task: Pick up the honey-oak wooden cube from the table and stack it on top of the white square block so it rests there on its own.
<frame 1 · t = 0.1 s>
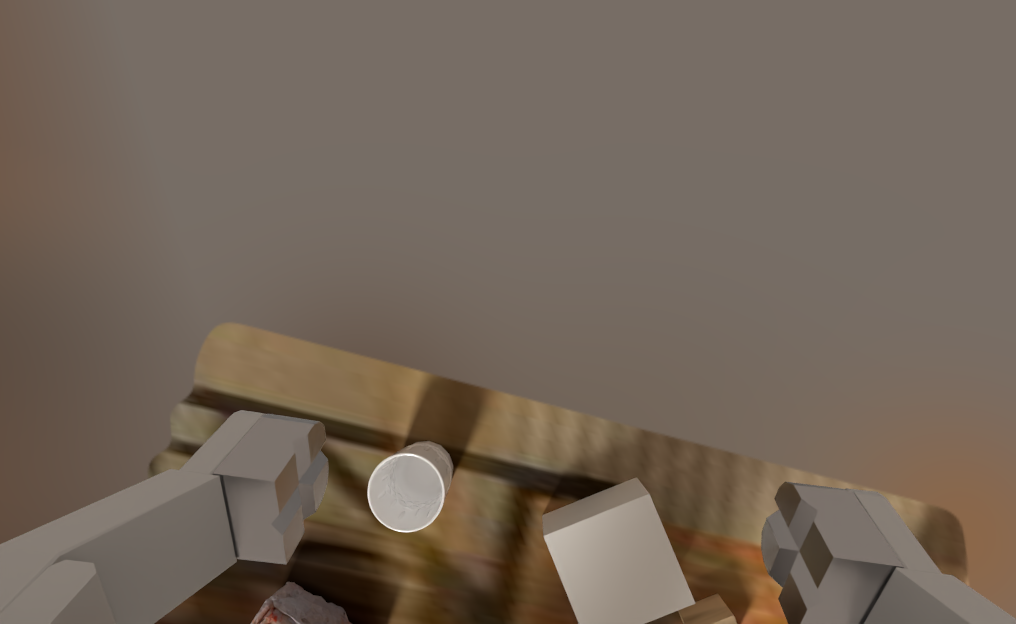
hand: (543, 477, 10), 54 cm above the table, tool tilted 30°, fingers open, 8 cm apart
white cup: (426, 468, 64), on the table
oak cube: (705, 621, 61), on the table
white square block: (609, 543, 62), on the table
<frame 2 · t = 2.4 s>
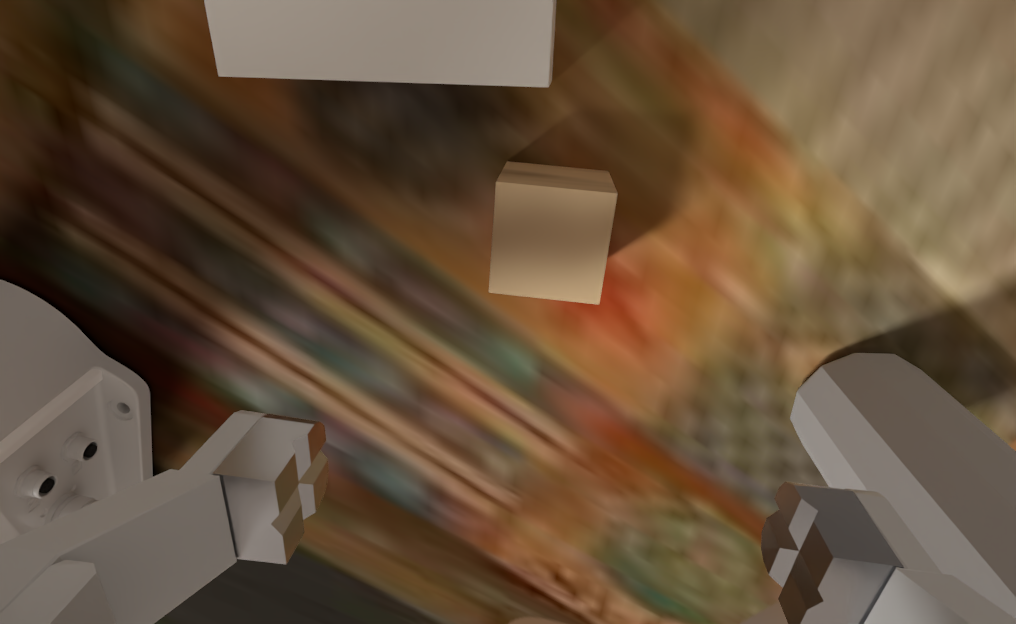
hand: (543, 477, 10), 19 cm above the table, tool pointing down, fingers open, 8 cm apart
water bottle: (865, 401, 30), on the table
oak cube: (551, 215, 27), on the table
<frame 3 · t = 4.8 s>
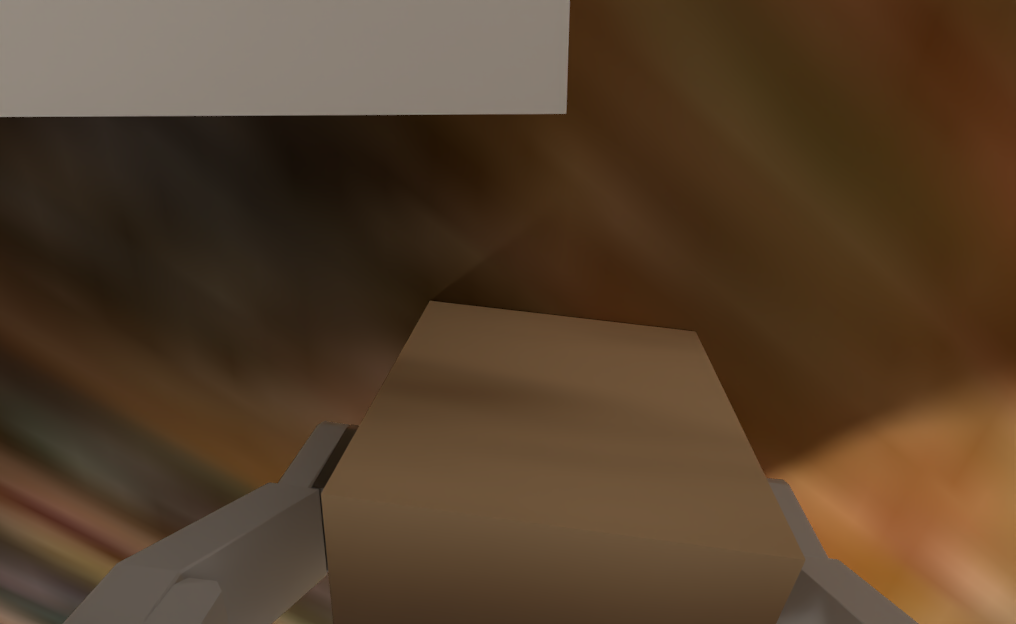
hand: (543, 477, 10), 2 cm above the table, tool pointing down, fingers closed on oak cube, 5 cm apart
oak cube: (546, 423, 11), on the table, touching gripper
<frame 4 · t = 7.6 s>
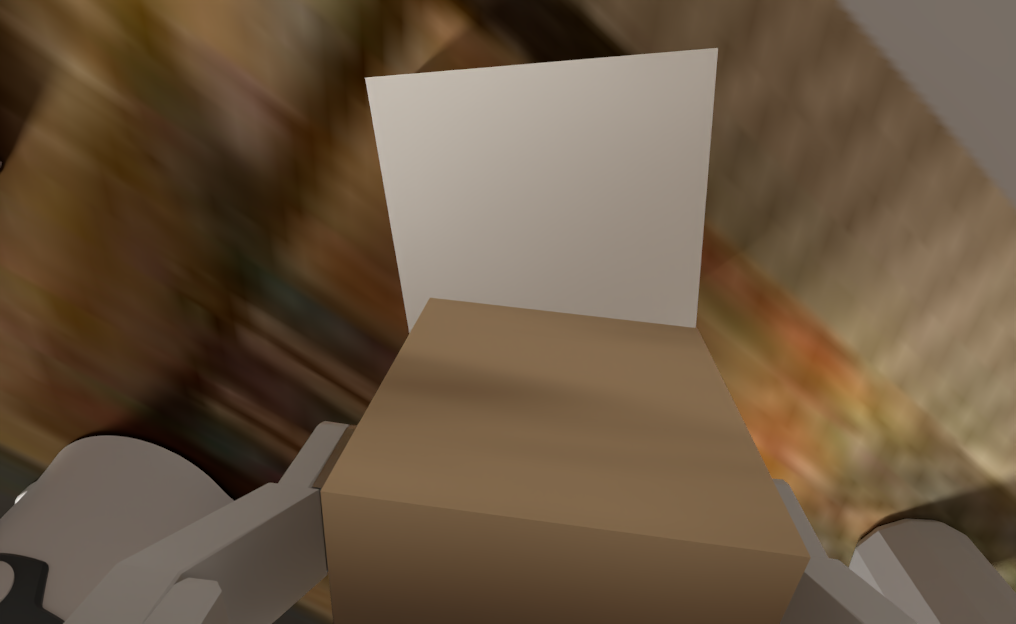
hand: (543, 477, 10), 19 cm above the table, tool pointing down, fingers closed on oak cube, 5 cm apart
water bottle: (915, 553, 34), on the table
oak cube: (546, 420, 11), point 18 cm above the table, touching gripper
white square block: (548, 193, 27), on the table
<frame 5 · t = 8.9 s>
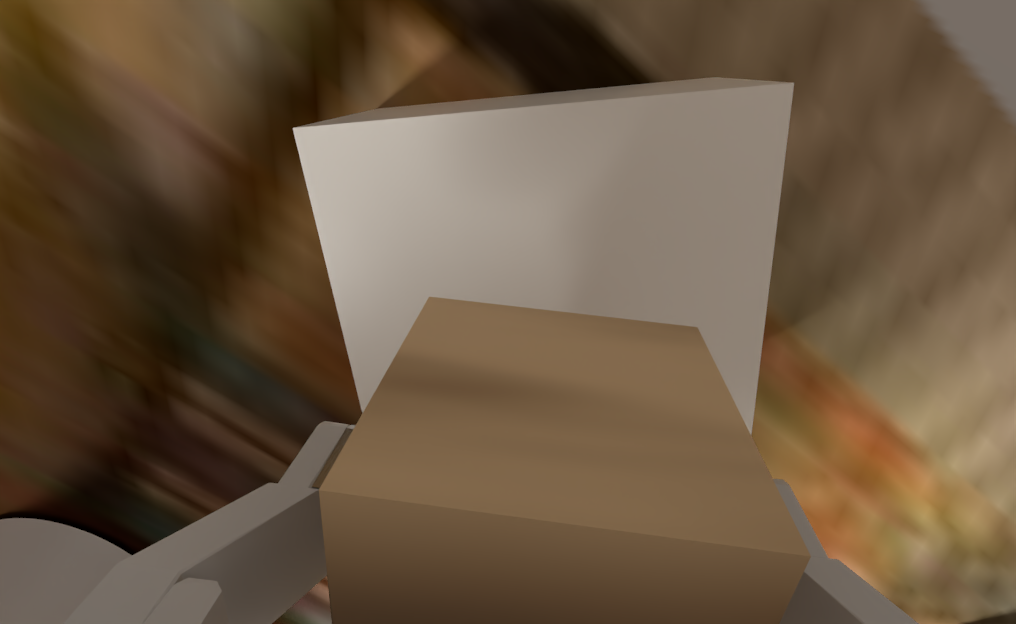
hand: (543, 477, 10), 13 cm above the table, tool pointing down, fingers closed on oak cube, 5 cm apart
oak cube: (546, 420, 11), point 11 cm above the table, touching gripper
white square block: (549, 252, 21), on the table
when the fingers open (10 cm above the table, at t = 10.3 s): oak cube drops 1 cm, resting on white square block.
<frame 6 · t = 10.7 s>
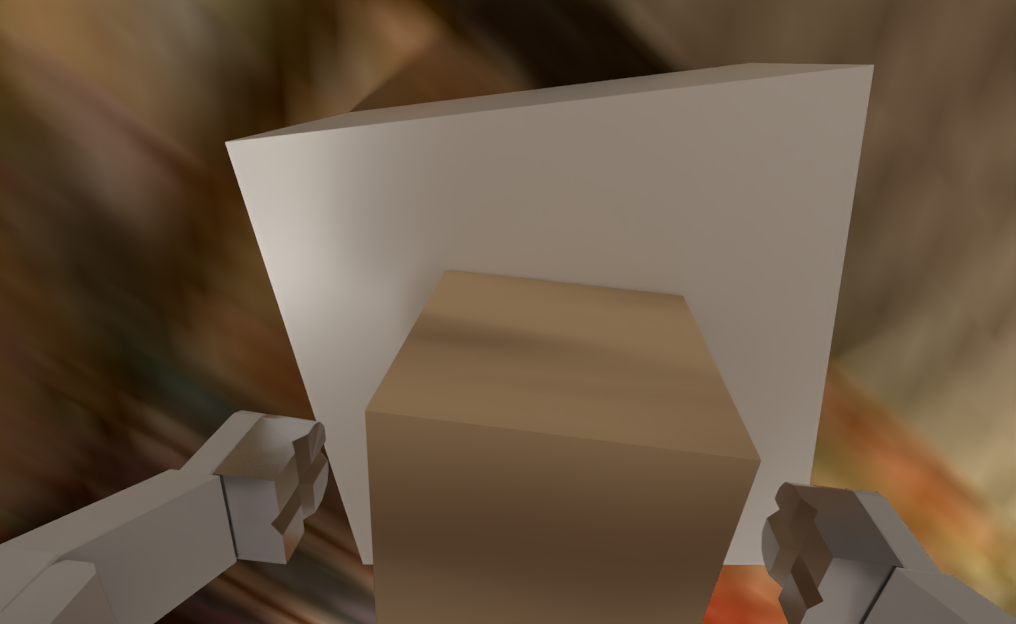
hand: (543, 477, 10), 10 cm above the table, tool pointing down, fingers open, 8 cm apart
oak cube: (549, 382, 12), point 7 cm above the table, touching white square block
white square block: (555, 273, 19), on the table, touching oak cube
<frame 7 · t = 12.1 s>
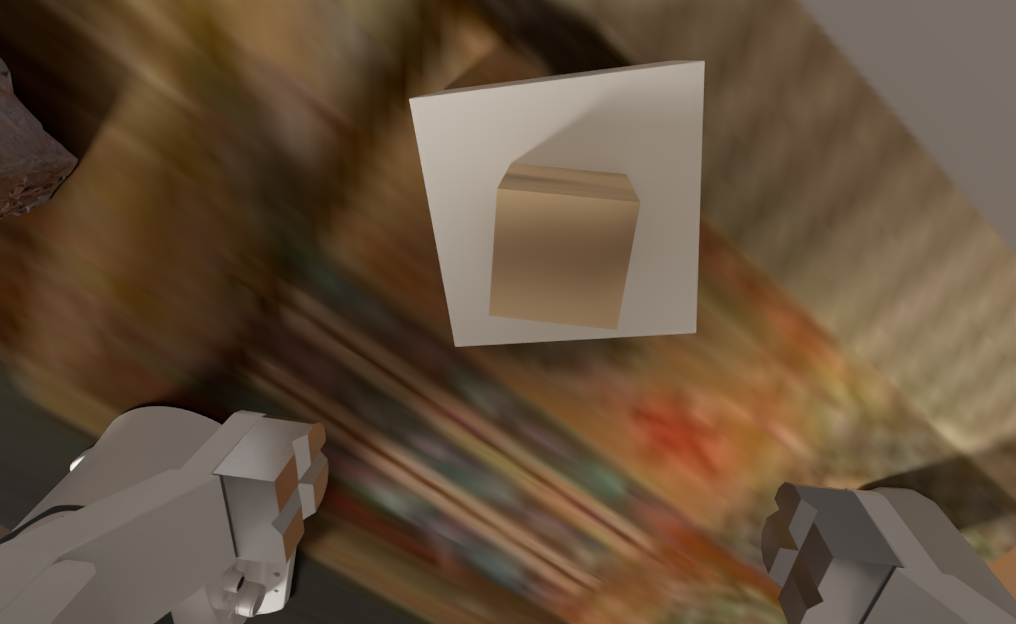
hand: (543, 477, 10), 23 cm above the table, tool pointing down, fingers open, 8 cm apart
water bottle: (889, 519, 38), on the table
oak cube: (561, 224, 24), point 7 cm above the table, touching white square block
white square block: (563, 189, 30), on the table, touching oak cube
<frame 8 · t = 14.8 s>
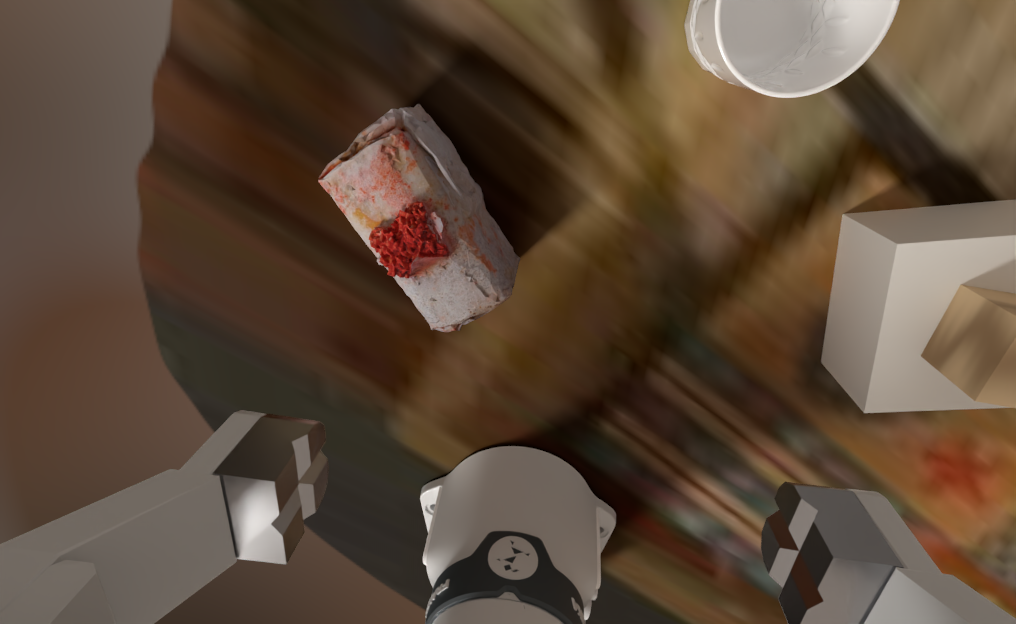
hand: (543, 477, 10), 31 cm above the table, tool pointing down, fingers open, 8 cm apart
food item: (444, 205, 40), on the table
white cup: (739, 19, 33), on the table
oak cube: (980, 328, 33), point 7 cm above the table
white square block: (916, 285, 39), on the table
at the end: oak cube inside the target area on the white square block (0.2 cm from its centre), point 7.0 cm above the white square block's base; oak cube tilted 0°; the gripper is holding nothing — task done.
